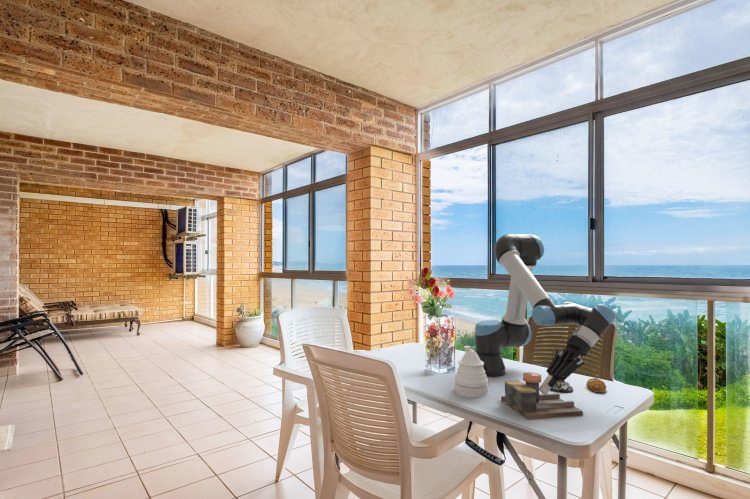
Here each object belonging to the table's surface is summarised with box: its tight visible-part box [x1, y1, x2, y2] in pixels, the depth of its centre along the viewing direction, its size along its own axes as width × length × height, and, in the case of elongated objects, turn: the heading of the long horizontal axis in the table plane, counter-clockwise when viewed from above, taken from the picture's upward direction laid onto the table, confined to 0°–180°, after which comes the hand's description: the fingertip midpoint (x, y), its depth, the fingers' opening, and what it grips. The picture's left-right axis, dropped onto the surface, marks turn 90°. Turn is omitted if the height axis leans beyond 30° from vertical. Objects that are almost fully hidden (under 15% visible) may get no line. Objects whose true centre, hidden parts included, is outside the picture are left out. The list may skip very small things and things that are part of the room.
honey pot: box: [454, 345, 489, 398], centre depth 156 cm, size 13×13×18 cm
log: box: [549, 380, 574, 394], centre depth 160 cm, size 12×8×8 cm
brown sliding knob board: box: [500, 379, 584, 421], centre depth 139 cm, size 18×20×8 cm
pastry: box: [585, 377, 607, 393], centre depth 158 cm, size 9×7×4 cm
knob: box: [522, 371, 542, 403], centre depth 139 cm, size 6×6×10 cm
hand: (541, 392), depth 139 cm, fingers closed
